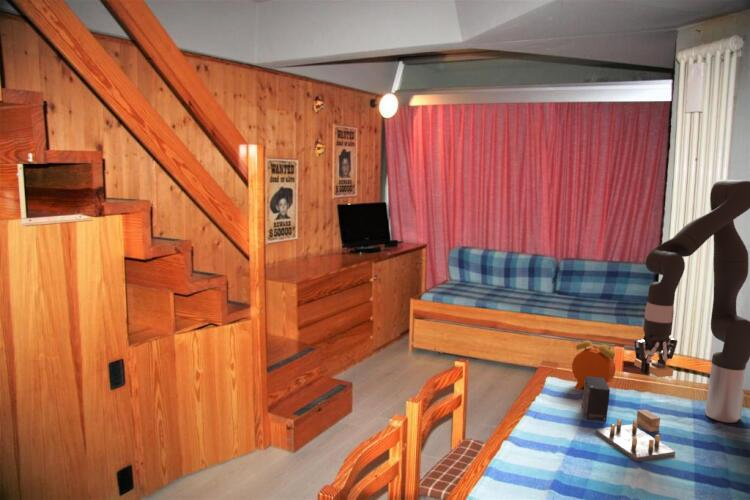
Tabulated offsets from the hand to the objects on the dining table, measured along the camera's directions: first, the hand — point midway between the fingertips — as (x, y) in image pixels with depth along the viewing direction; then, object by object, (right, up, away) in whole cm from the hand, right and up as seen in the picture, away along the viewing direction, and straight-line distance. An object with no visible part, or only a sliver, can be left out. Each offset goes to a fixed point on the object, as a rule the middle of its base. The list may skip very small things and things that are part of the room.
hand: (652, 372), depth 177 cm
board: (0, +1, 0) cm, 1 cm away
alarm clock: (-7, -12, +31) cm, 34 cm away
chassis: (-9, -19, -8) cm, 22 cm away
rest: (0, -17, +3) cm, 17 cm away
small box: (-13, -16, +12) cm, 24 cm away
